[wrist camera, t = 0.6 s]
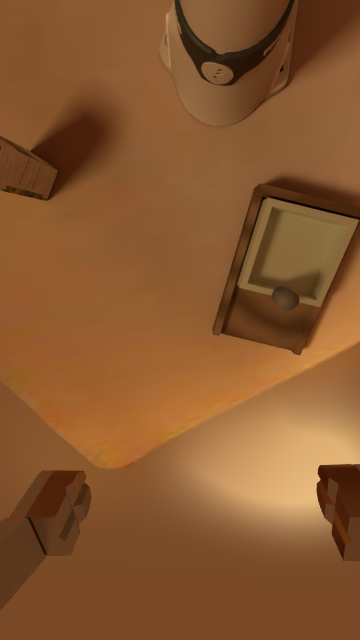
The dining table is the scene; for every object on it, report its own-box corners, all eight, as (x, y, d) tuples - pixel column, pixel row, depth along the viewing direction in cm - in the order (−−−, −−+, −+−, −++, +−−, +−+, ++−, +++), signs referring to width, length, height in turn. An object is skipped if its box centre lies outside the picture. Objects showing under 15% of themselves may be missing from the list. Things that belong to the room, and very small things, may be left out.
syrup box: (18, 182, 44) (-64, 161, 30) (29, 148, 42) (-53, 109, 28) (47, 201, 45) (-20, 188, 31) (60, 169, 43) (-6, 140, 29)
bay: (254, 188, 41) (260, 183, 37) (355, 212, 42) (372, 210, 37) (212, 329, 50) (213, 338, 46) (295, 349, 50) (304, 360, 46)
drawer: (262, 200, 41) (275, 194, 34) (344, 221, 41) (377, 218, 34) (234, 288, 46) (241, 299, 39) (308, 306, 46) (329, 320, 39)
